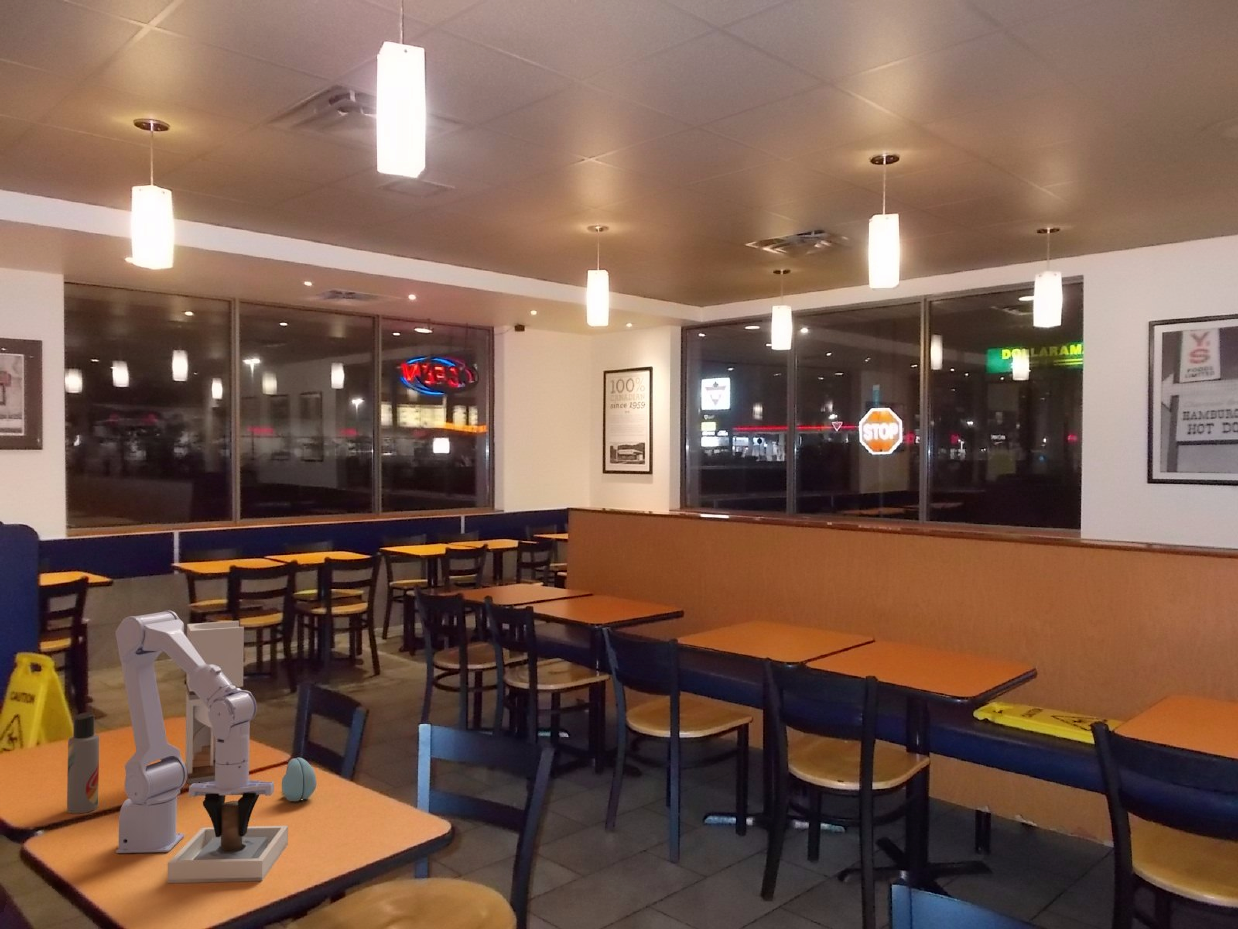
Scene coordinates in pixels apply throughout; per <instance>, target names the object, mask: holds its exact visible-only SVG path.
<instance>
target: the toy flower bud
mask: <svg viewBox="0 0 1238 929" xmlns="http://www.w3.org/2000/svg"><path fill="white" fill-rule="evenodd" d="M316 788H317V777H316V773H315V770H314V768H313V767H312V765H311V764H310V763H309V762H308V761H307V760H306V759H305V758H302V757H295V758H291V759H290V760H289V762H287V766H286V772H285V774H284V775H283V777H282V779H281V791H282V792H281V793H282V795H283V796H284V797H285V798H286V799H287V801H289V802H291V801H297V802H299V801H301V800H300V799H306V800H308V799H309V798H310V797H311V796H312V795H313V794H314V792H315V790H316ZM307 798H308V799H307Z"/></svg>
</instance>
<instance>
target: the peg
mask: <svg viewBox="0 0 1238 929" xmlns="http://www.w3.org/2000/svg"><path fill="white" fill-rule="evenodd" d="M239 824H240V816H239V807H238V800H229V801H226V802H225V803H223V804H222V816H221V851H223V852H232V851H237V850H239V849H241V848H242V836H239Z"/></svg>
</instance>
